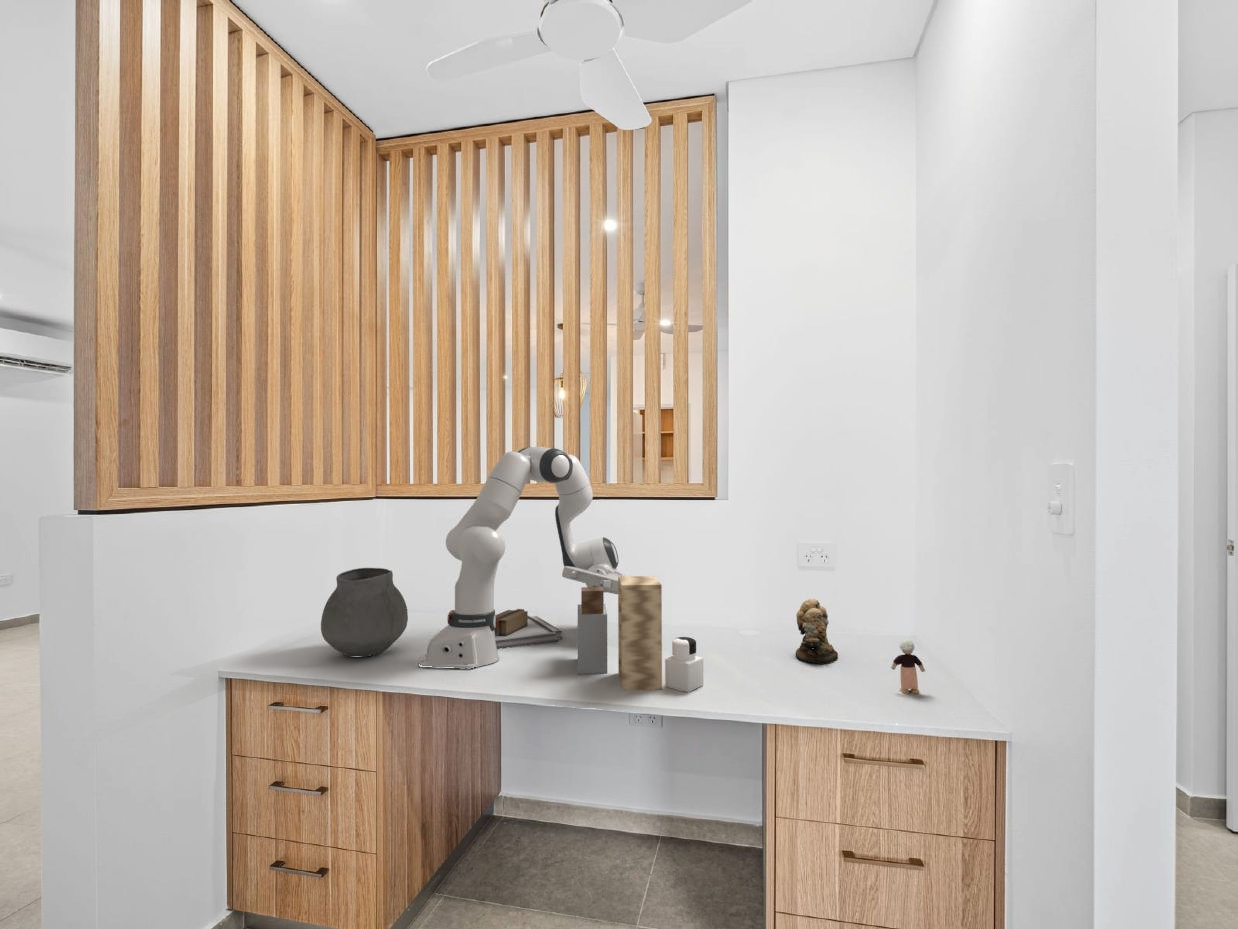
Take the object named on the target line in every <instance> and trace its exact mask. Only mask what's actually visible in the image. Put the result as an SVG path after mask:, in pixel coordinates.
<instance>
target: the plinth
mask: <svg viewBox="0 0 1238 929" xmlns="http://www.w3.org/2000/svg"><path fill="white" fill-rule="evenodd" d="M577 674H578V675H583V674H584V675H585V674H590V675H591V674H608V612H607V607H606V603H604V613H581V604H577Z"/></svg>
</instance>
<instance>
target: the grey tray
mask: <svg viewBox="0 0 1238 929" xmlns="http://www.w3.org/2000/svg"><path fill="white" fill-rule="evenodd" d="M528 613H529V612H528V611H527V610H525V608H524V609H523V608H517V609H515V610H514V609H507V610H505V611H502V612H500V613H498V614H495V615H496V626H495V630H494V632H495V641H496V647H497V650H501V649H500V648H502V649H508V648H507V647H510V648H514V647H515V648H517V647H524V646H525V647H526V646H532V645H531V644H533V645H540V644H539V643H541V644H548V643H554V642H558V640H561V639H563V638H562V636H563V635H562V633H563V632H562V631H563V630H561V629H560V628H557V627H555V626H554V625H552V624H551V623H549V622H548V621H546V620H545V619H543V618H540V617H539V616H537V615H536V616H535V615H532V616H530V615H528Z"/></svg>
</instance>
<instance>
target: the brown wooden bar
mask: <svg viewBox="0 0 1238 929" xmlns="http://www.w3.org/2000/svg"><path fill="white" fill-rule="evenodd" d="M580 589H581V592H580V593H581V595H580V596H581V597H580V598H581V599H580V600H581V601H580V603H581V613H604V604H605V603H604V602H605V599H604V598H605V595H604V591H603V587H587V586H586V587H585V586H583V587H581V588H580Z"/></svg>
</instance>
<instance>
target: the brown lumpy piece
mask: <svg viewBox="0 0 1238 929" xmlns="http://www.w3.org/2000/svg"><path fill="white" fill-rule="evenodd" d="M820 604H821V603H820V602H819V600H817V599H816V598H810V599H807V600H805V601H803V602H802V604H800V605H801V606H800V608H799V609H798V610H797V612H796V623H797V624H796V625H797V627H798V628H797V629H798V631H799V632H800V635H802V636H803V637H802V641H801V642H800V645H799V648H797V649H796V651H795V658H796V657H797V658H796V659H797V660H799V662H805V663H806V664H808V663H814V664H815V663H816V664H820V665H828V664H832V663H834V662H836V661H837V660H838V657H839V653H838V652H837V651H836V650H835V648H834V647H833V645H832V644H830V642H829V640H828V637H827V634H828V633H827V630H828V625H829V619H828V617H829V616H828V613H827V609H826V607H824V606H823V605H820ZM831 662H832V663H831Z"/></svg>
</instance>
